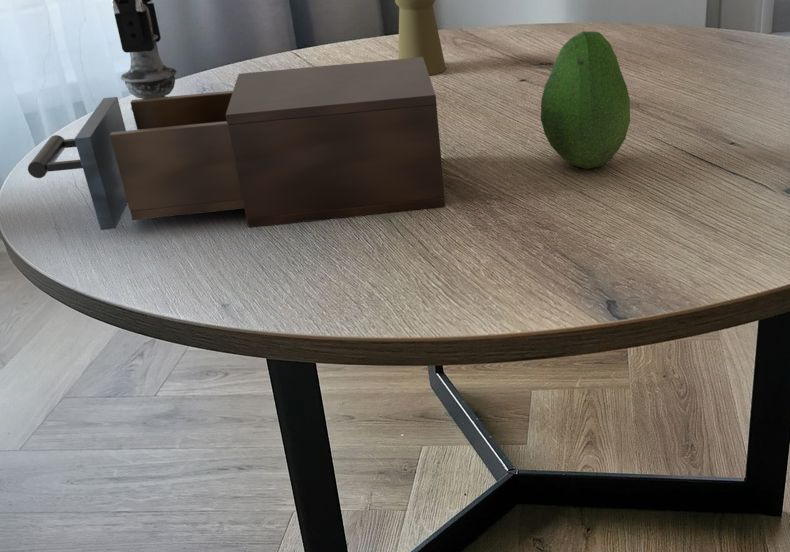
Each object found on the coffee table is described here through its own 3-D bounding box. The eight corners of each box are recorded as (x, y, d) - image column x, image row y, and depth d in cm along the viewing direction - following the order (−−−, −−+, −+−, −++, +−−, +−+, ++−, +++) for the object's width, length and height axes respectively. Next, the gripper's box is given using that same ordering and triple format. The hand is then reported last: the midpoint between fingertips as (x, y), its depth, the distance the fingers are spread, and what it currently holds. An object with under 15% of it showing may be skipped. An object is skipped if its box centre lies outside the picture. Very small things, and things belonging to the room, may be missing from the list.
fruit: (547, 183, 85) (542, 46, 79) (538, 154, 92) (533, 25, 86) (636, 177, 85) (639, 39, 79) (621, 147, 92) (623, 18, 86)
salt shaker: (182, 96, 110) (159, -14, 104) (183, 109, 105) (160, -6, 99) (128, 102, 108) (102, -9, 102) (127, 116, 104) (100, 0, 98)
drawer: (38, 236, 78) (8, 144, 74) (70, 187, 88) (45, 103, 84) (290, 210, 80) (274, 119, 76) (294, 164, 90) (280, 81, 86)
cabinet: (248, 227, 80) (225, 114, 75) (257, 175, 91) (238, 73, 86) (445, 206, 82) (435, 94, 77) (432, 157, 92) (422, 56, 88)
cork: (436, 77, 117) (428, -18, 112) (390, 75, 119) (380, -18, 113) (452, 64, 122) (445, -28, 116) (408, 63, 124) (399, -27, 118)
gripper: (80, -146, 101) (121, 33, 110) (39, -138, 87) (90, 67, 96) (154, -150, 102) (188, 28, 111) (124, -142, 88) (167, 62, 97)
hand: (142, 44), depth 103 cm, fingers closed on salt shaker, 3 cm apart
